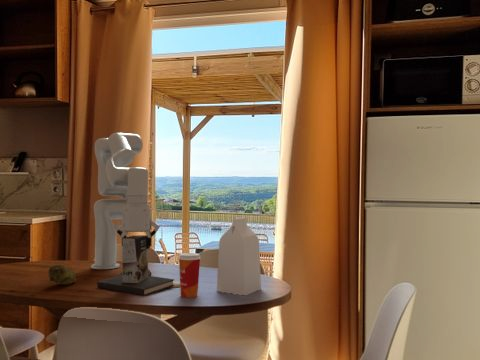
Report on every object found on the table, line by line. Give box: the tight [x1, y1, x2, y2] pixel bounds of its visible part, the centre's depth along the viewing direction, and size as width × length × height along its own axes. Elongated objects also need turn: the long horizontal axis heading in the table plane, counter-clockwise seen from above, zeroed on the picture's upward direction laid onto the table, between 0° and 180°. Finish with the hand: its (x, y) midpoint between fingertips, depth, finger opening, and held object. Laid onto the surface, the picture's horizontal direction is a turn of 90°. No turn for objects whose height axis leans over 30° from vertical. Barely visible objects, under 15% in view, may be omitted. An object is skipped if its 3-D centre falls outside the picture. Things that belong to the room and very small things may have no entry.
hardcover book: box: [96, 274, 175, 296], centre depth 155 cm, size 16×23×2 cm
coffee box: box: [121, 234, 149, 283], centre depth 155 cm, size 9×6×16 cm
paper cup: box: [177, 252, 202, 299], centre depth 143 cm, size 8×8×14 cm
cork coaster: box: [170, 281, 180, 289], centre depth 159 cm, size 8×8×1 cm
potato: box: [47, 264, 77, 286], centre depth 158 cm, size 8×13×8 cm, turn 153°
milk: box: [216, 217, 262, 296], centre depth 153 cm, size 12×12×26 cm
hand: (136, 248), depth 156 cm, fingers open, 8 cm apart
